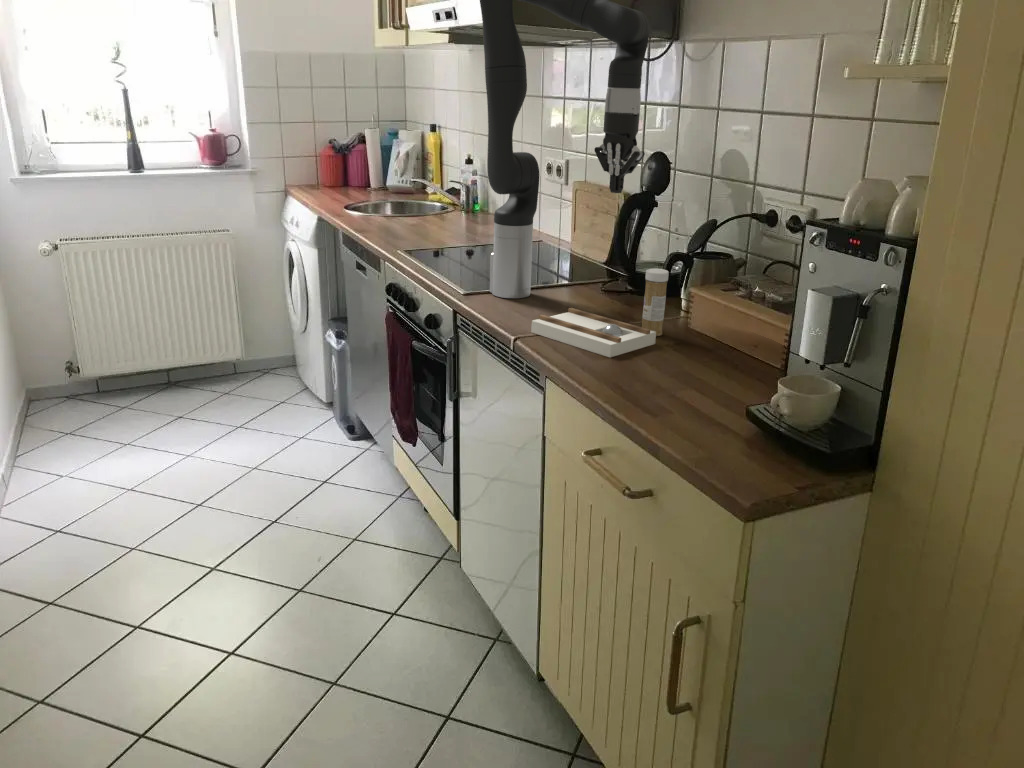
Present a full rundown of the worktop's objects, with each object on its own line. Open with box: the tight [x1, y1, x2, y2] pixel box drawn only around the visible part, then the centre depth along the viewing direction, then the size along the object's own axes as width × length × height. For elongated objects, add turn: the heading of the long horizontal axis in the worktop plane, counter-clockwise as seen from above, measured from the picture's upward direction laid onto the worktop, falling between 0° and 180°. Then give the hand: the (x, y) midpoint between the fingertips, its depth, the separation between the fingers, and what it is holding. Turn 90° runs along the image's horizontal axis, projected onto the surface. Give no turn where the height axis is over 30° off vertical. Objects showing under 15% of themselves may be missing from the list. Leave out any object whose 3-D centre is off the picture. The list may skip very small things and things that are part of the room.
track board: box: [530, 307, 657, 358], centre depth 164 cm, size 21×14×3 cm, turn 44°
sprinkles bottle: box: [641, 267, 670, 337], centre depth 166 cm, size 5×5×13 cm
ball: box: [603, 324, 623, 337], centre depth 160 cm, size 4×4×4 cm
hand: (615, 192), depth 180 cm, fingers closed
